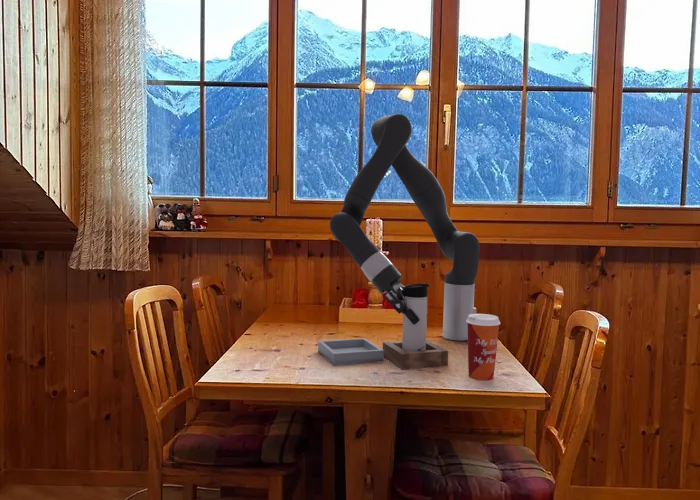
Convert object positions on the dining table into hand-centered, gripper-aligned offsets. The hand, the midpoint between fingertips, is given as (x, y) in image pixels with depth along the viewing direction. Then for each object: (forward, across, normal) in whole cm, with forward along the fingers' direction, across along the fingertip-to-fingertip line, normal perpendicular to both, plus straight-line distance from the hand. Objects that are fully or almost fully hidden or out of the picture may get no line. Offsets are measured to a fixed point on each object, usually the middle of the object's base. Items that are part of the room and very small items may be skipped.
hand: (421, 320), depth 158 cm
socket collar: (+7, 0, +9) cm, 11 cm away
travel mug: (+6, 0, +9) cm, 11 cm away
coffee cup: (+21, -5, -4) cm, 22 cm away
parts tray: (-5, -4, +21) cm, 22 cm away
